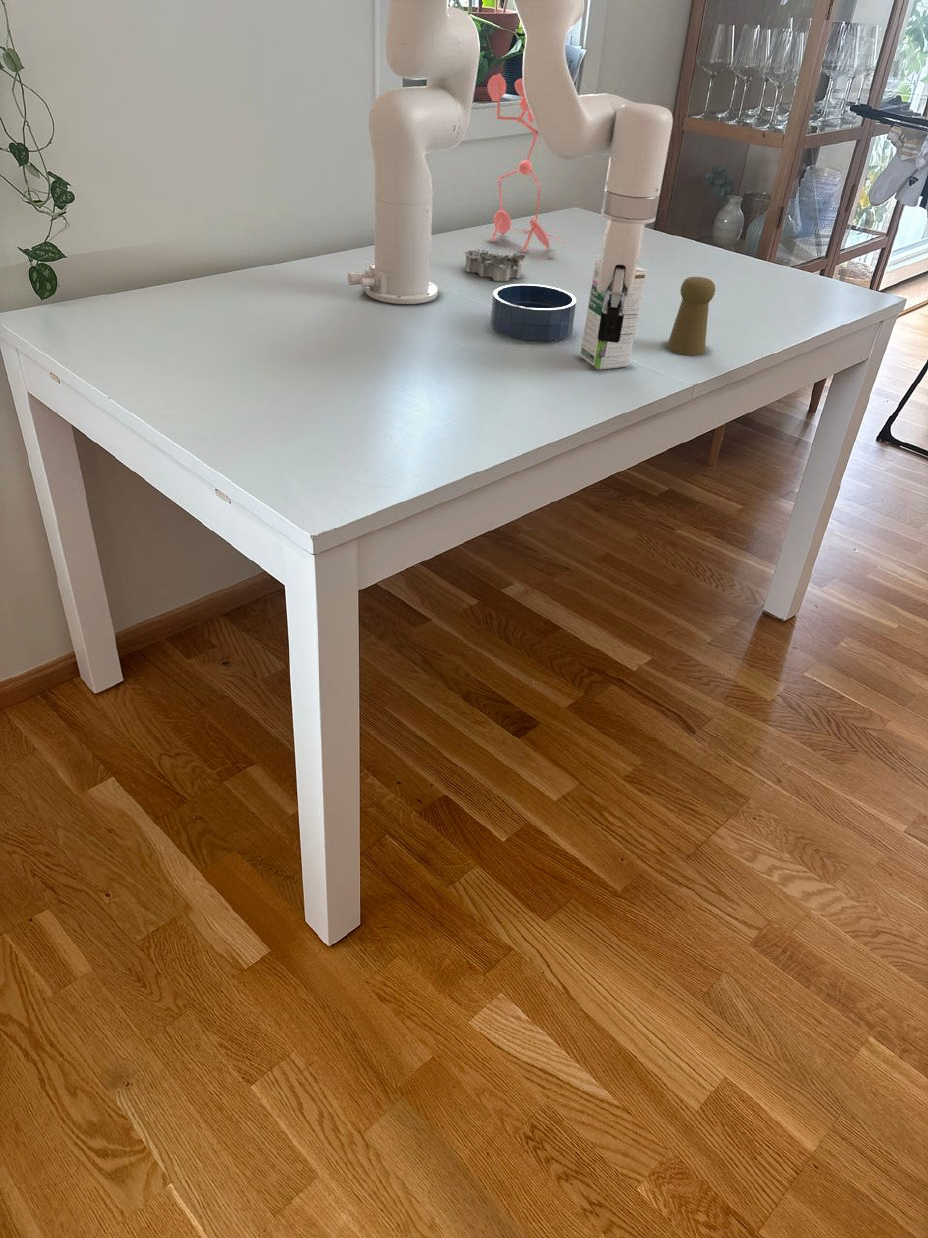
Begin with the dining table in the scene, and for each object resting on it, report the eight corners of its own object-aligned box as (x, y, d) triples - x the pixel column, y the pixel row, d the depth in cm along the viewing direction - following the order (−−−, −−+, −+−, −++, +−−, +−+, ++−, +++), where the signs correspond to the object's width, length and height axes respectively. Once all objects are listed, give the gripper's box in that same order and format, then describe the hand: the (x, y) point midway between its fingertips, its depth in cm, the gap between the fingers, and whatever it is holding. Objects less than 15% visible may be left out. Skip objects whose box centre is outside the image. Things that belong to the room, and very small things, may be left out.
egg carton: (526, 277, 177) (528, 255, 175) (498, 283, 173) (500, 260, 170) (485, 263, 183) (487, 241, 181) (458, 269, 179) (459, 246, 176)
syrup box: (578, 356, 143) (592, 258, 135) (611, 353, 146) (627, 257, 137) (596, 370, 139) (613, 270, 131) (630, 367, 141) (648, 268, 133)
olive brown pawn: (704, 357, 147) (720, 286, 141) (666, 352, 148) (680, 281, 142) (704, 344, 152) (719, 275, 146) (667, 339, 153) (680, 270, 146)
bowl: (516, 348, 145) (520, 313, 142) (476, 321, 154) (478, 287, 151) (587, 339, 151) (592, 305, 147) (544, 314, 160) (548, 281, 157)
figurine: (551, 262, 186) (574, 59, 166) (461, 233, 201) (471, 43, 180) (599, 251, 196) (626, 57, 175) (509, 224, 210) (525, 42, 189)
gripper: (605, 190, 137) (587, 310, 147) (599, 217, 123) (580, 347, 133) (657, 195, 136) (635, 316, 146) (657, 223, 122) (633, 354, 132)
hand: (609, 330), depth 140 cm, fingers closed on syrup box, 7 cm apart
